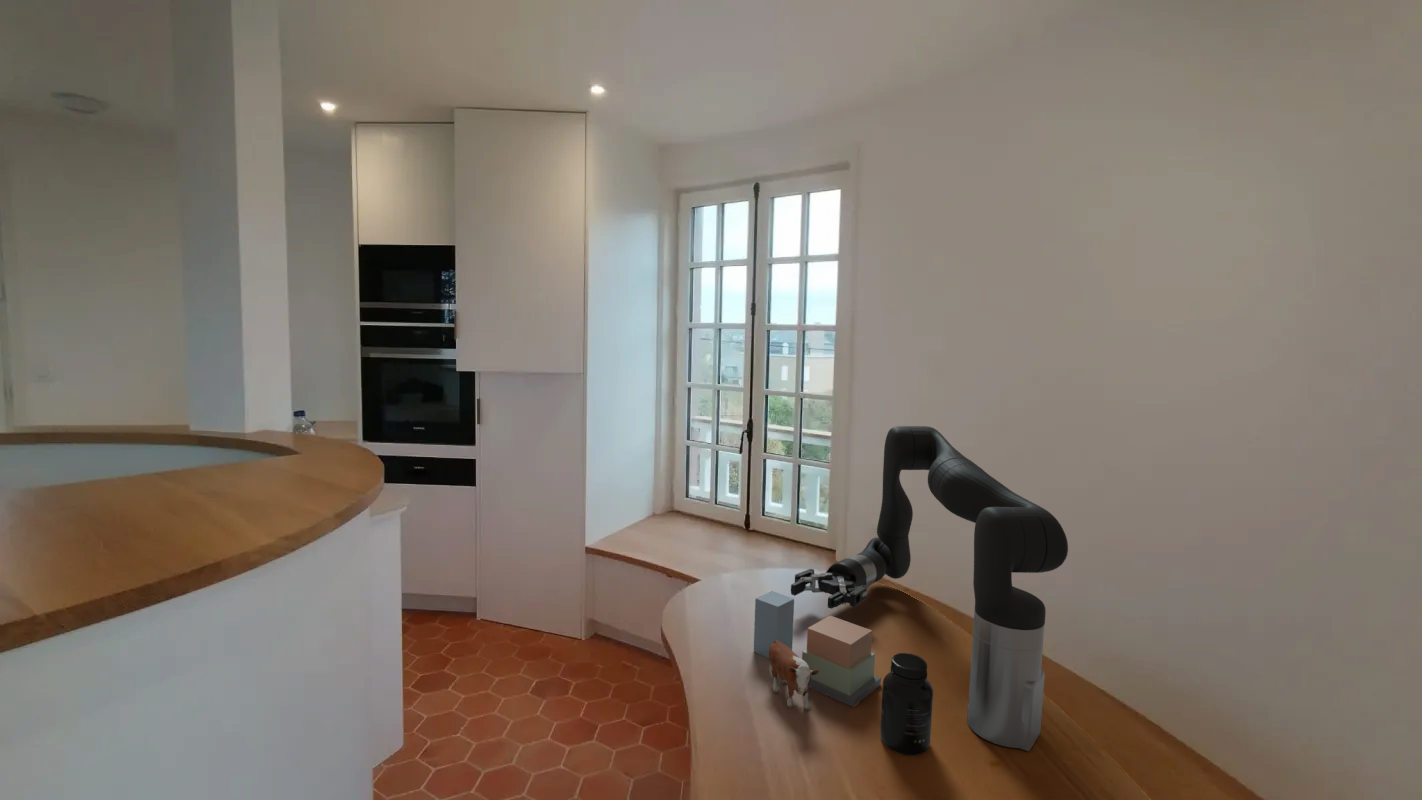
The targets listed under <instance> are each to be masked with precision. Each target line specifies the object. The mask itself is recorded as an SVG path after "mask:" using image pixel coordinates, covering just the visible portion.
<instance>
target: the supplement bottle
mask: <svg viewBox="0 0 1422 800" xmlns="http://www.w3.org/2000/svg"><path fill="white" fill-rule="evenodd" d="M881 691H882V693H881V711H880V723H879V724H880V726H879V727H880V729H879V735H880V739H881V741H882V743H883V744H884V745H885V746H886V747H887V748H888V749H890V750H891V751H893V752H895V753H897V754H901V755H904V756H910V757H912V756H914V757H915V756H919V755H922V754H924V753H926V752H927V751H928V750H929V748H930V744H931V735H932V733H931V732H932V721H933V720H932V717H933V702H934V689H933V686H932V683H931V681H929V679H928V663H927V662H926V660H925V659H924V658H922V657H921V656H919V655H916V654H913V653H907V652H906V653H905V652H900V653H899V652H898V653H895V654H894V655H893V656H892V657H891V664H890V671H889V672H888V673H887V674H886V675H885V676H884V678H883V680H882V689H881Z"/></svg>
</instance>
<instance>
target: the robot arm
mask: <svg viewBox="0 0 1422 800" xmlns="http://www.w3.org/2000/svg"><path fill="white" fill-rule="evenodd" d="M883 449H884V450H883V463H882V464H883V465H882V466H883V468H882V469H883V471H882V494H881V495H882V496H881V497H882V499H881V506H880V512H879V518H878V522H877V527H876V535H877V537H873V538H871V539H870V540H869V542H868V543H867V545H866V546H865V548H864V549H863V550H862V551H861V552H859V553H857V554H855V555H851V556H848V557H846V558H843V559H841V560H839V561H837V562H835V563H833V564H830V566H829V567H828V569H827V570H826V572H822V573H818V574H817V573H815V569H813V568H809V569H806V570H803V571H801V572H798V573H796V574H794V582H793V583H791V584H790V594H791V595H792V596H794V597H795V596H797V595H799V594H802V593H803V592H807V591H810V592H812V593H814V594H815V593H825V594H829V595H830V596H829V597H828V598H827V608H829V609H830V610H831V609H834V608H838V607H839V606H841V605H844V606H846V605H847V604H849V606H850V607H856V606H858V605H859V604H861V603H862V602H864V601H865V600H867V595H868V594H867V593H868V592H867V591H868V590H867V589H868V588H869V587H870V586H872V585H874V584H875V583H876V582H878V581H880V580H881V579H882V578H884V576H888V577H889V578H891V579H895V580H896V579H901V578H903V577H904V576H906V574H907V573H908V571H909V569H910V566H911V561H912V560H911V559H912V557H911V548H910V539H909V534H910V530H911V526H912V522H913V515H914V514H913V513H914V512H913V505H912V503H911V501H910V499H909V497H908V495H907V493H906V491H905V490H904V488H903V486H902V483H901V479H900V476H901V472H902V471H928V472H927V473H928V474H927V486H928V488H929V491H930V492H931V494H932V495H933V496H934V498H935V499H936V500H937V501H938V502H939V503H940V504H941V505H942V506H943V507H944V508H945V509H946V510H947V511H949V513H952V514H953V515H956V516H957V517H958V518H959V517H960V518H962V519H964V520H966V521H969V522H972V523H974V525H975V526H974V531H973V579H972V580H973V592H974V612H973V613H974V614H973V628H972V644H971V657H970V659H971V660H970V671H969V672H970V673H969V675H970V676H969V689H968V690H969V691H968V701H967V702H968V704H967V721H966V722H967V724H968V726H969V727H970V729H971V730H972V731H973V732H974V733H975V734H976V735H978V736H979V737H981V738H982V739H984V740H986V741H988V742H991V743H993V744H995V745H998V746H1002V747H1006V748H1011V749H1014V748H1015V749H1021V750H1023V751H1026V752H1030V750H1031V749H1032V747H1033V745H1034V744H1035V743H1036V740H1038V738H1039V736H1040V735H1041V730H1042V729H1041V727H1042V715H1043V706H1044V705H1043V704H1044V703H1043V702H1044V689H1045V677H1046V674H1045V673H1046V672H1045V671H1044V670H1043V669H1042V663H1043V662H1042V661H1043V650H1044V649H1043V647H1044V636H1045V635H1044V634H1045V625H1046V624H1045V623H1046V606H1045V604H1044V602H1043V601H1042V600H1041V599H1040V598H1039V597H1037V596H1036V595H1034V594H1032V593H1030V592H1028V591H1027V590H1023V589H1020V588H1018V587H1016V586H1013V583H1012V581H1013V580H1012V577H1013V576H1012V575H1013V573H1015V574H1017V573H1023V574H1026V573H1028V574H1031V573H1033V574H1035V573H1037V574H1040V573H1046V572H1047V573H1048V572H1051V571H1054V570H1057V569H1058V568H1059V567H1061V566H1062V565H1063V564H1064V562H1065V561H1066V559H1067V556H1068V552H1069V543H1068V539H1067V535H1066V533H1065V530H1064V528H1063V527H1062V525H1061V523H1060V522H1059V520H1058V519H1057V518H1056V517H1055V516H1054V515H1053V514H1052V513H1051V512H1049V511H1048V510H1047V509H1045V508H1043V507H1041V506H1040V505H1038V504H1036V503H1034V502H1033V501H1030V500H1028V499H1026V498H1024V497H1022V496H1021V495H1019V494H1017V493H1015V492H1014V491H1012V490H1011V489H1010V488H1008V487H1007V486H1005V485H1004V484H1003V483H1001V482H1000V481H998V480H997V479H995V478H994V477H993V476H991V475H990V474H989V473H987V472H986V471H985V470H984V469H983V468H982V467H980V466H979V465H977V464H976V463H975V462H974V461H972V460H970V459H969V458H967V457H966V456H965V455H963V454H962V453H961V452H960V451H959V450H957V449H956V448H955V447H954V446H953V445H952V444H951V443H950V442H949V441H948V440H947V438H945V437H944V435H943V434H942V433H941V432H939V431H938V430H937V429H936V428H934V427H931V426H928V425H927V426H926V425H908V426H907V425H899V426H893V427H891V428H890V429H889V430H888V431H887V434H886V438H885V440H884V447H883ZM816 582H817V585H816ZM808 584H809V585H808ZM817 586H818V587H817Z"/></svg>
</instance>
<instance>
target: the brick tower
mask: <svg viewBox="0 0 1422 800" xmlns="http://www.w3.org/2000/svg"><path fill="white" fill-rule="evenodd" d="M872 636H873V629H872V630H871V629H869V628H866V627H863V626H860V625H858V624H855V623H853V622H849V621H846V620H843V619H841V618H839V617H835V616H832V615H828V616H827V617H824V618H823V619H821V620H819V621H818V622H816V623H814V624H812V625H810V626H809V627H807V636H806V649H804V650H803V651H802V653H801V659H803V660H804V661H805V662H806V663H807V664H808V666H809V668H810V670H818V671H819V672H818V674H816V675H811V682H810V684H809V685H808V688H811V689H812V690H815V691H817V692H819V693H822V694H823V695H825V696H828V697H830V698H832V699H834V700H836V701H839V702H841V703H843V704H845V705H847V706H849V707H852V708H854V707H856V706H857V705H858V704H859V703H860V702H862V701H863V700H864V699H865V698H866V697H868V696H869V695H870V694H871V693H873V692H874V691H875V690H877V688H879V687H880V686H881V684H882V683H881V682H882V681H881V677H879V676H876V675H875V663H876V662H875V661H876V653H874V652H872V638H873V637H872Z"/></svg>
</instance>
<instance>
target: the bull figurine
mask: <svg viewBox="0 0 1422 800" xmlns="http://www.w3.org/2000/svg"><path fill="white" fill-rule="evenodd" d="M768 659H769V660H768V661H769V672H770V677H771V679H773V683H772V688H773V690H772V691H773V692H774V693H775V694H778V693H780V688H779V685H778V677H779V679H781V681H782V682H781V683H782V684H783V685H787V693H788V699H787V700H786V702H787V703H786V705H787V706H786V707H787V708H789V709H792V708H793V707H794V702H793V697H794V694H795V692H796V693H797V695H799V696H801V695H802V697H803V703H802V704H803V709H804V710H805V711H810V710H811V706H810V703H809V699H808V698H809V691H808V690H809V687H808V685H809V684H810V682H811V675H816V674H818V672H819V671H818V670H810V668H809V666H808V664H807V663H806V662H805V661H804V660H803V659H802V657H800V656H798V655H797V654H796V653H795V652H794V651H793V649H792V650H791V649H790V648H789V647H787V646H786V645H785V644H783V643H781V642H779V641H778V640H776V641H774V643H773V644H772V645H771V646H770V648H769V658H768ZM794 691H795V692H794Z"/></svg>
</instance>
